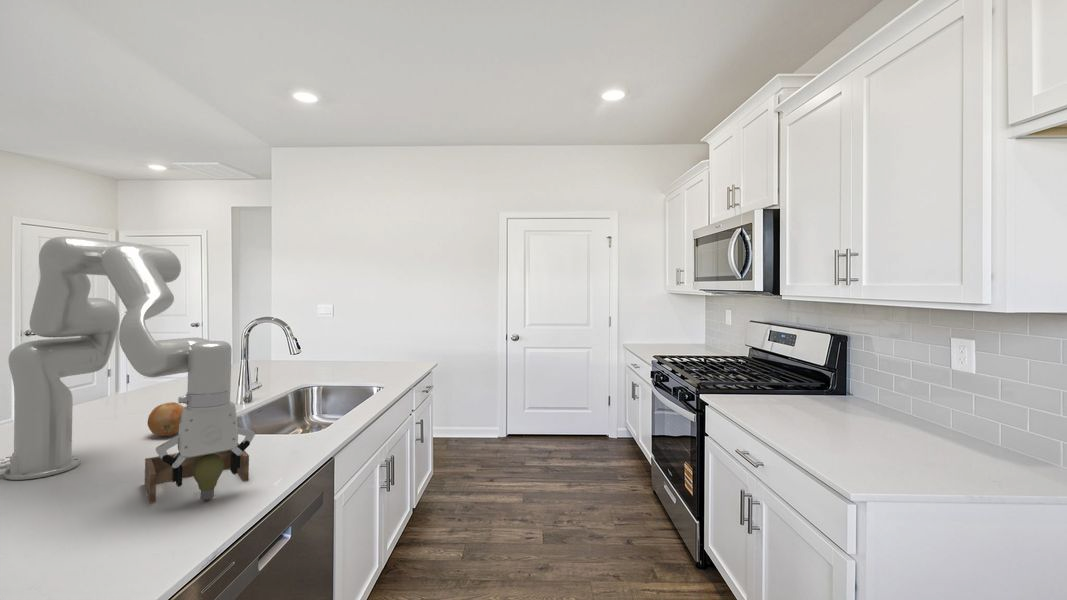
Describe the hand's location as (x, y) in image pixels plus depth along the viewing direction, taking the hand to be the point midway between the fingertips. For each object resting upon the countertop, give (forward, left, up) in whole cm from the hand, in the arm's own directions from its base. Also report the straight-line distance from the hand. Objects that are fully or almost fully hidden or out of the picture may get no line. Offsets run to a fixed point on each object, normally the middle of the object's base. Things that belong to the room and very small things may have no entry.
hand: (207, 478), depth 96 cm
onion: (-1, +56, -5) cm, 57 cm away
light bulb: (0, 0, -5) cm, 5 cm away
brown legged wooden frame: (0, +12, -5) cm, 13 cm away
